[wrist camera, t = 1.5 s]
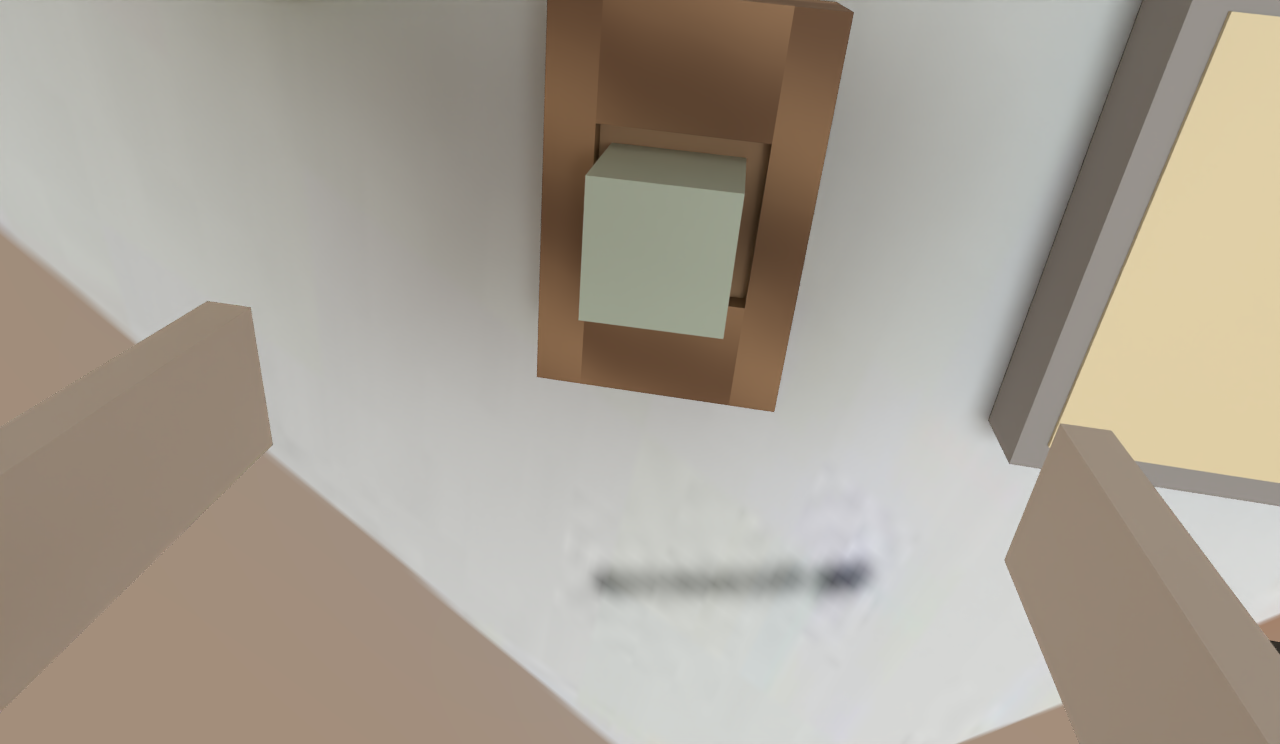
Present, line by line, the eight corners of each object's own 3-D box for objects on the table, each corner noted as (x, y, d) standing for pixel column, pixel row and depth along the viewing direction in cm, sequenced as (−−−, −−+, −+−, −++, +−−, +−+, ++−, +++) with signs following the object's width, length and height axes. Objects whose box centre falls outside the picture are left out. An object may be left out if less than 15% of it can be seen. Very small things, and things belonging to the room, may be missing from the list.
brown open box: (591, -24, 26) (547, -20, 21) (835, 1, 25) (853, 12, 20) (573, 309, 31) (536, 376, 26) (772, 337, 31) (774, 411, 26)
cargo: (611, 142, 23) (585, 175, 20) (746, 157, 23) (744, 193, 19) (603, 269, 25) (578, 320, 21) (727, 285, 25) (723, 339, 21)
